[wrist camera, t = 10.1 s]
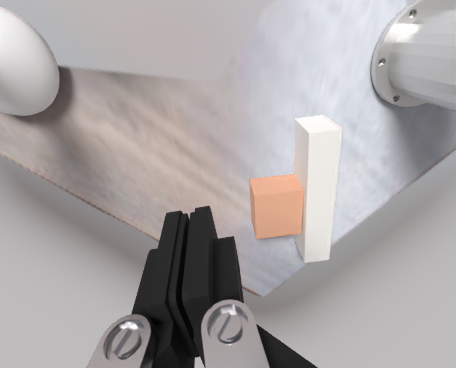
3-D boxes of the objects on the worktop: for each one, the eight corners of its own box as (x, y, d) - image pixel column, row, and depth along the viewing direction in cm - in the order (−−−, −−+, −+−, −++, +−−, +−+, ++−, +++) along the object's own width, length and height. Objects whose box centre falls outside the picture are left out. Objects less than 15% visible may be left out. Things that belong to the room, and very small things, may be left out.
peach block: (293, 173, 41) (303, 190, 37) (291, 214, 45) (301, 233, 41) (249, 178, 41) (254, 195, 37) (251, 219, 45) (256, 239, 41)
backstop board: (323, 114, 37) (342, 128, 32) (315, 234, 48) (329, 259, 43) (294, 118, 37) (309, 133, 32) (293, 237, 48) (304, 263, 43)
